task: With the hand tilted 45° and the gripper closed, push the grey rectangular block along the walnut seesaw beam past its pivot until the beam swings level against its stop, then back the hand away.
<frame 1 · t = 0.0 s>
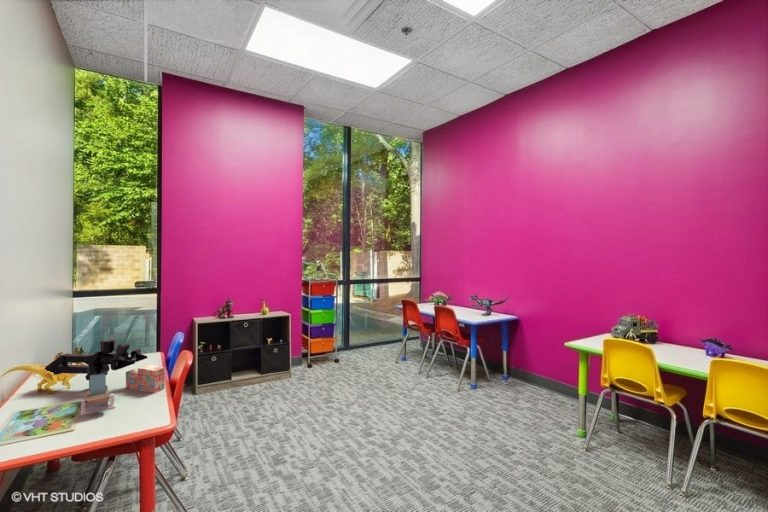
hand: (141, 359, 200), 17 cm above the table, tool horizontal, fingers open, 9 cm apart
pivot stand: (98, 409, 176), on the table
stack of blocks: (145, 389, 202), on the table
grey rectangular block: (97, 393, 178), point 7 cm above the table, tilted 6°, touching beam
beam: (97, 398, 179), point 4 cm above the table, hinge at -6.3°, touching grey rectangular block
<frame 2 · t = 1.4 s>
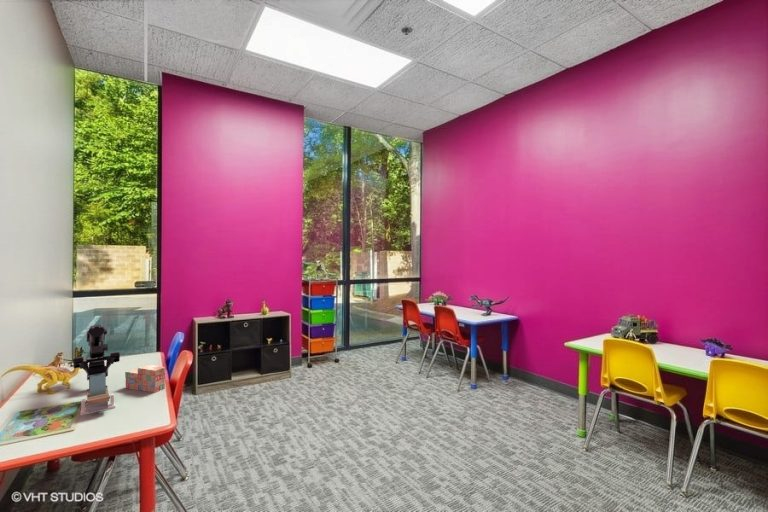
hand: (97, 374, 185), 14 cm above the table, tool tilted 45°, fingers open, 6 cm apart
nothing on the table moved.
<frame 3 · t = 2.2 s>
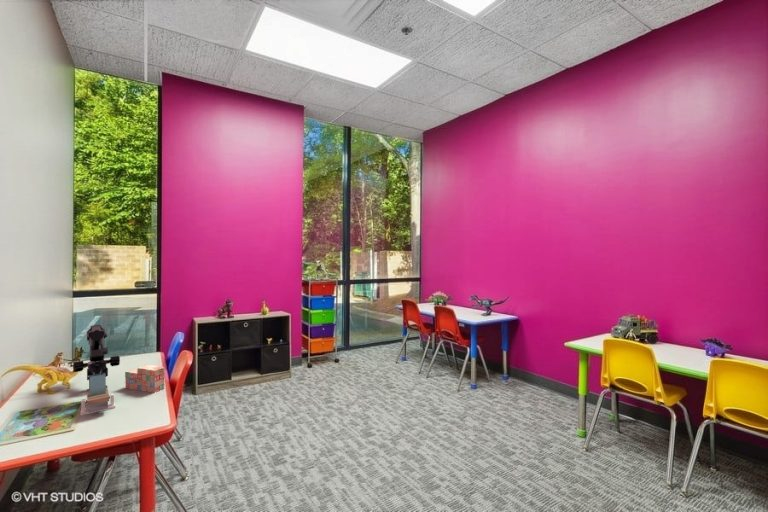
hand: (97, 378, 184), 12 cm above the table, tool tilted 45°, fingers closed
nothing on the table moved.
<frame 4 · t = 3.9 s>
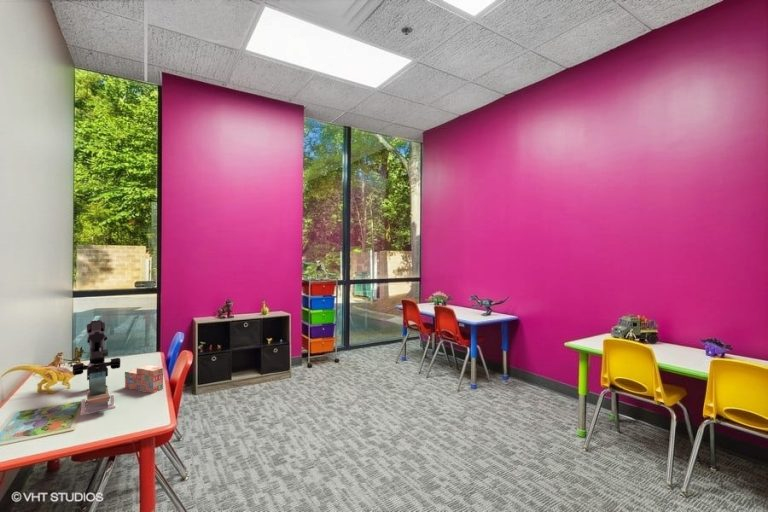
hand: (97, 380, 179), 12 cm above the table, tool tilted 50°, fingers closed, pressing on grey rectangular block
grey rectangular block: (97, 391, 178), point 7 cm above the table, tilted 13°, touching beam, gripper
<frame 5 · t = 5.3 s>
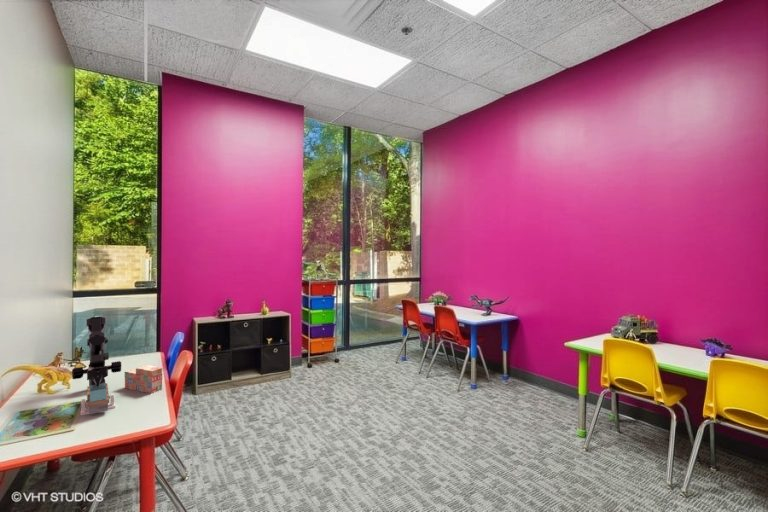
hand: (97, 385, 174), 12 cm above the table, tool tilted 50°, fingers closed, pressing on grey rectangular block
grey rectangular block: (97, 389, 176), point 10 cm above the table, tilted 91°, touching beam, gripper
beam: (97, 397, 179), point 4 cm above the table, hinge at 0.5°, touching grey rectangular block
everything else where it was.
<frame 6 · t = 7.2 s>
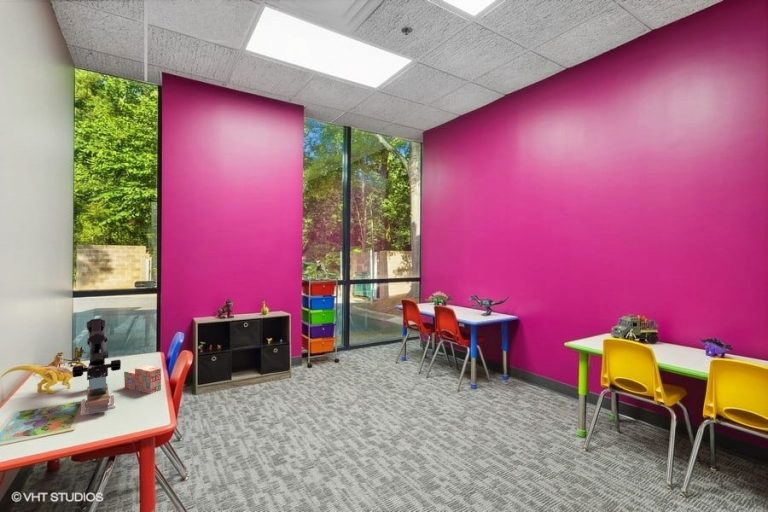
hand: (97, 383, 177), 12 cm above the table, tool tilted 50°, fingers closed, pressing on grey rectangular block
grey rectangular block: (97, 389, 177), point 9 cm above the table, tilted 55°, touching beam, gripper
beam: (97, 397, 179), point 4 cm above the table, hinge at 0.1°, touching grey rectangular block
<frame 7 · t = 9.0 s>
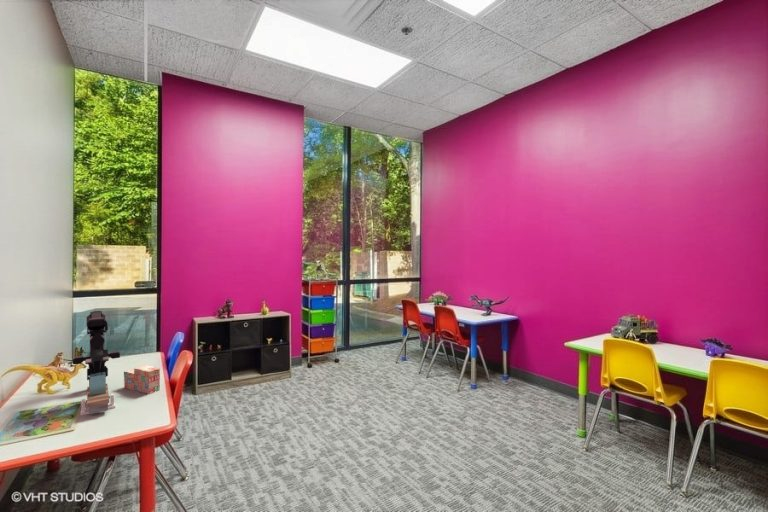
hand: (97, 373, 187), 13 cm above the table, tool pointing down, fingers closed
grey rectangular block: (97, 392, 178), point 7 cm above the table, touching beam
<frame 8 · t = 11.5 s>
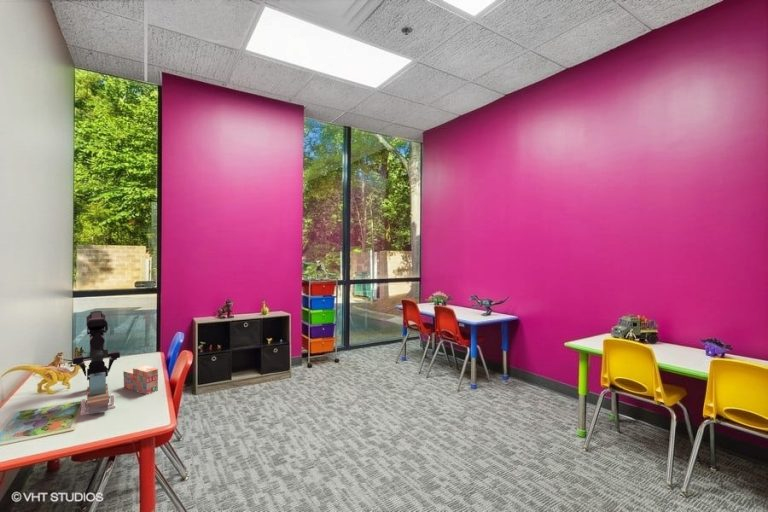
hand: (97, 374, 187), 13 cm above the table, tool pointing down, fingers open, 9 cm apart
at the end: beam at +0° (first picture: -6°); grey rectangular block touching beam; grey rectangular block tilted 0° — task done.
